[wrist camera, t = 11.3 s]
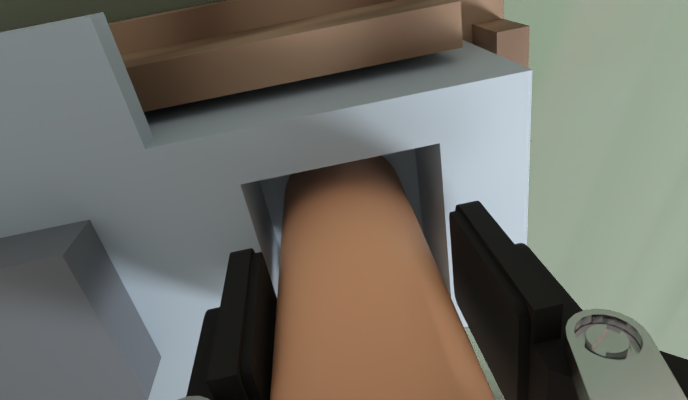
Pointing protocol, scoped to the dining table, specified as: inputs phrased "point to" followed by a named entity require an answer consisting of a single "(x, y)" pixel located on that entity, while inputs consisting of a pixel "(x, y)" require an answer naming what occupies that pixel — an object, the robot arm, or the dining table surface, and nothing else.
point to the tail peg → (364, 296)
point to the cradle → (297, 42)
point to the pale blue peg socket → (207, 193)
